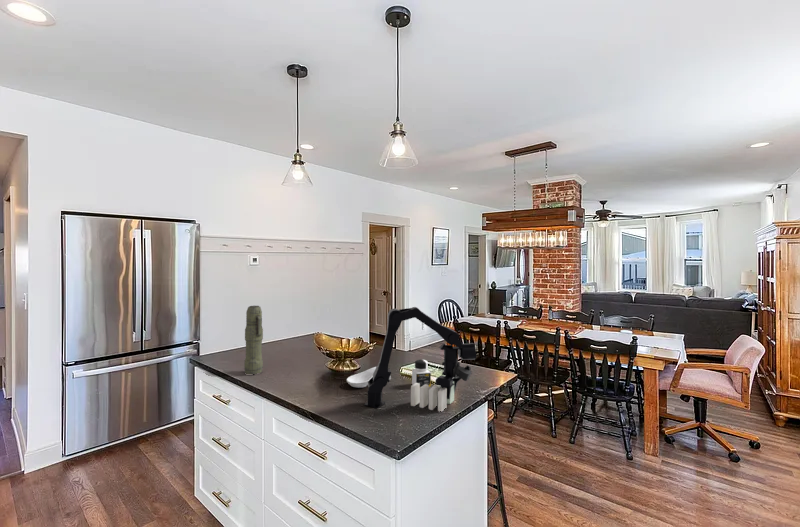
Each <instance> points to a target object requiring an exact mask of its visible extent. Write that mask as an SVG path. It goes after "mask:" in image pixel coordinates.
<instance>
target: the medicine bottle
mask: <svg viewBox="0 0 800 527" xmlns="http://www.w3.org/2000/svg"><path fill="white" fill-rule="evenodd" d="M428 364H429V362H428V360H426V359H417V360H415V362H414V369H411V380H412V381H411V384H412V385H413V384H415V383H420V387H421V386H423V385H425V384H427V385H428V388H431V387H432V386H431V385H432V384H431V382H432V381H431V379H432V378H431V376H432V373H431V371H430V370H428V369H429V366H428Z"/></svg>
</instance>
